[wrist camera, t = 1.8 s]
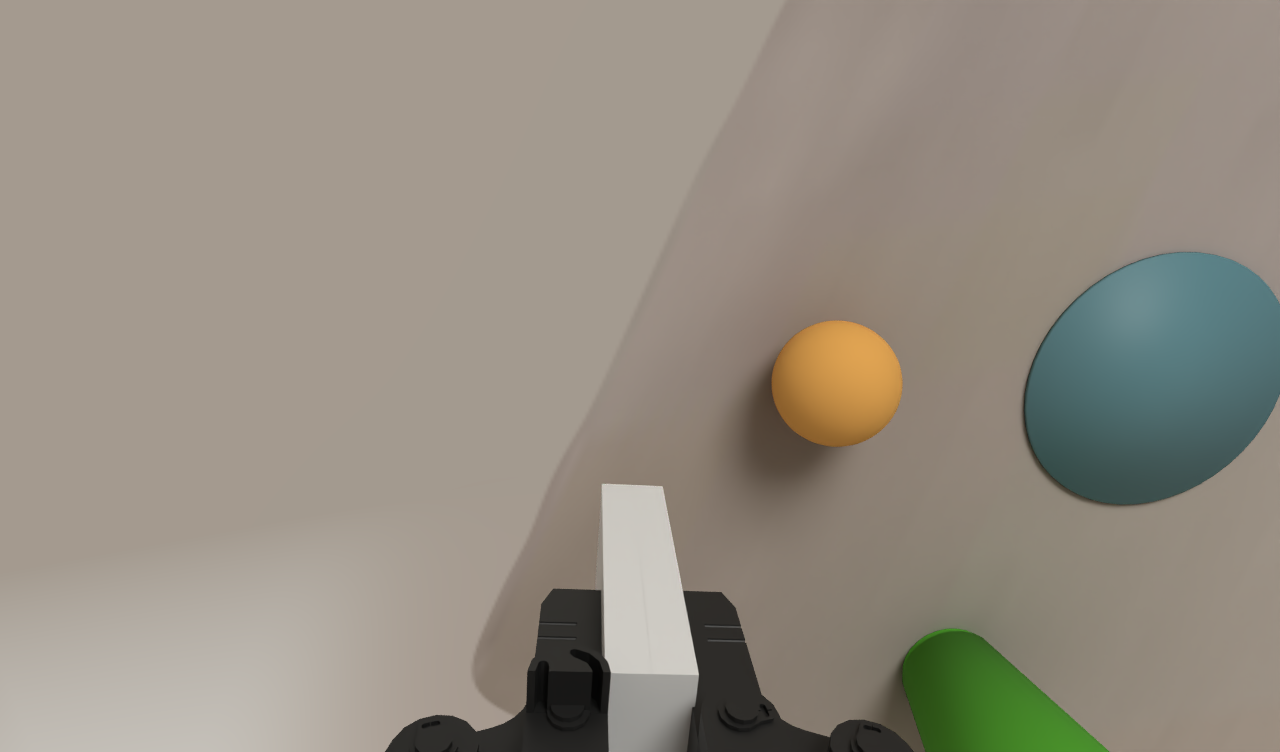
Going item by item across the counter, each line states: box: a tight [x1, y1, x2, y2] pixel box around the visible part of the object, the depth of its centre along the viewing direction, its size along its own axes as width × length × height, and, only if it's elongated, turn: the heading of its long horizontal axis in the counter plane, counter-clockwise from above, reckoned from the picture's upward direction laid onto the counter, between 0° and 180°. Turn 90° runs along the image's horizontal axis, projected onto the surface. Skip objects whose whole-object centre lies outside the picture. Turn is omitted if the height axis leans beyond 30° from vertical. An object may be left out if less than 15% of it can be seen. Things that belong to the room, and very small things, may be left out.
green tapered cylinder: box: [902, 629, 1109, 752], centre depth 34 cm, size 9×9×11 cm
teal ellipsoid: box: [1024, 252, 1280, 504], centre depth 35 cm, size 13×13×1 cm
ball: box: [772, 321, 902, 447], centre depth 31 cm, size 6×6×6 cm
